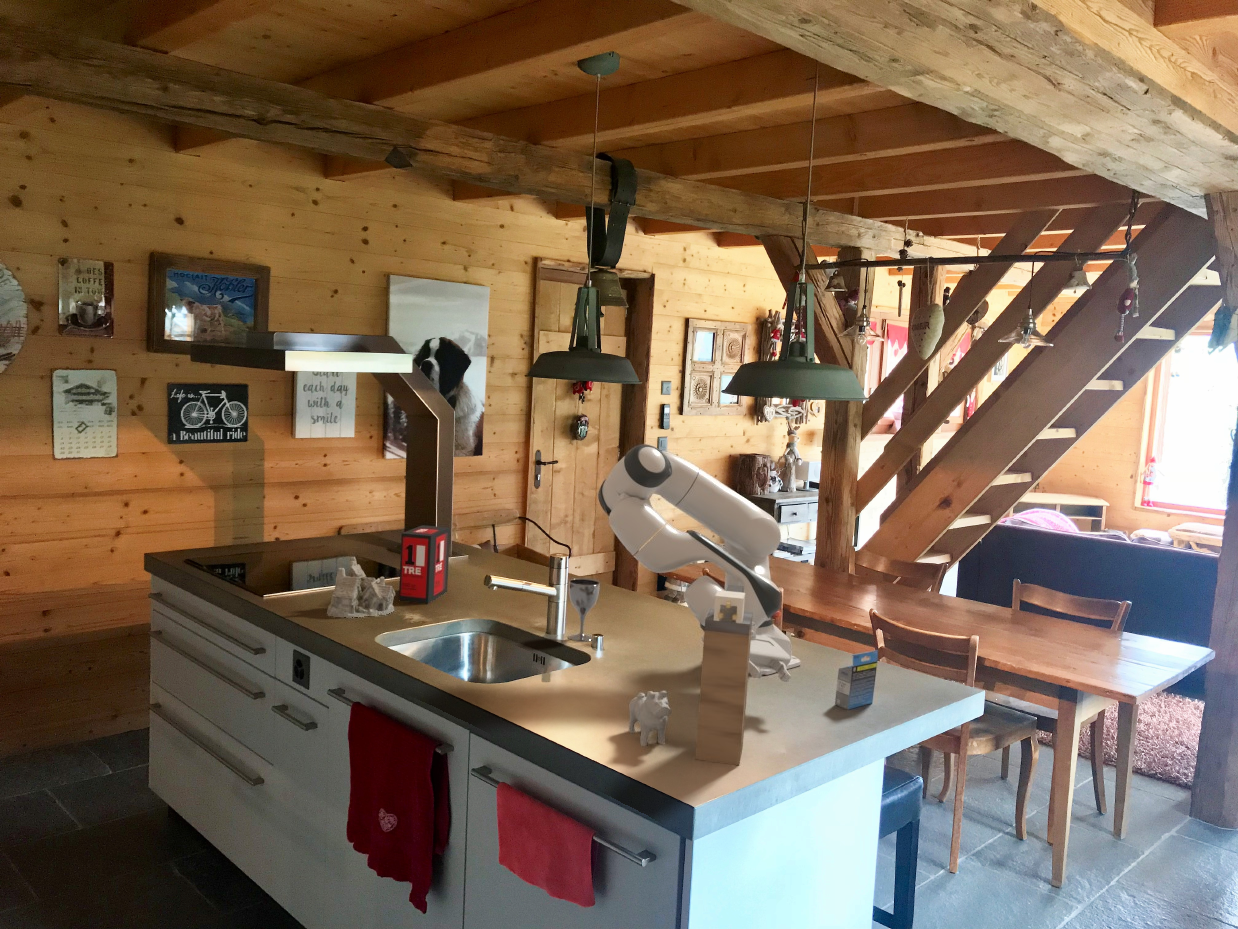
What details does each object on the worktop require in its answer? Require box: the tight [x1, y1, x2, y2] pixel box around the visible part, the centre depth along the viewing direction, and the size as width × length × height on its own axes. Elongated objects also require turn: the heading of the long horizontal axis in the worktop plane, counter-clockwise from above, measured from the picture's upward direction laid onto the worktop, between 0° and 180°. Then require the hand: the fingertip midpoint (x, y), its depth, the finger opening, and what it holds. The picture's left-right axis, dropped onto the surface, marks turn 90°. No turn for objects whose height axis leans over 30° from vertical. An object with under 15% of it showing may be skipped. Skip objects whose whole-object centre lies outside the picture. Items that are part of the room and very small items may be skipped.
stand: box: [694, 608, 753, 766], centre depth 176 cm, size 9×8×26 cm
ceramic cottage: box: [326, 556, 396, 619], centre depth 261 cm, size 16×16×15 cm
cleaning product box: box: [398, 525, 451, 605], centre depth 283 cm, size 16×9×20 cm, turn 171°
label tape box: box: [834, 649, 879, 711], centre depth 209 cm, size 9×4×12 cm, turn 128°
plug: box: [714, 585, 745, 623], centre depth 178 cm, size 20×5×4 cm, turn 169°
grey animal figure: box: [628, 690, 672, 747], centre depth 181 cm, size 5×13×11 cm, turn 20°
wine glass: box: [567, 577, 601, 643], centre depth 249 cm, size 8×8×15 cm
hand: (773, 677), depth 193 cm, fingers open, 8 cm apart
